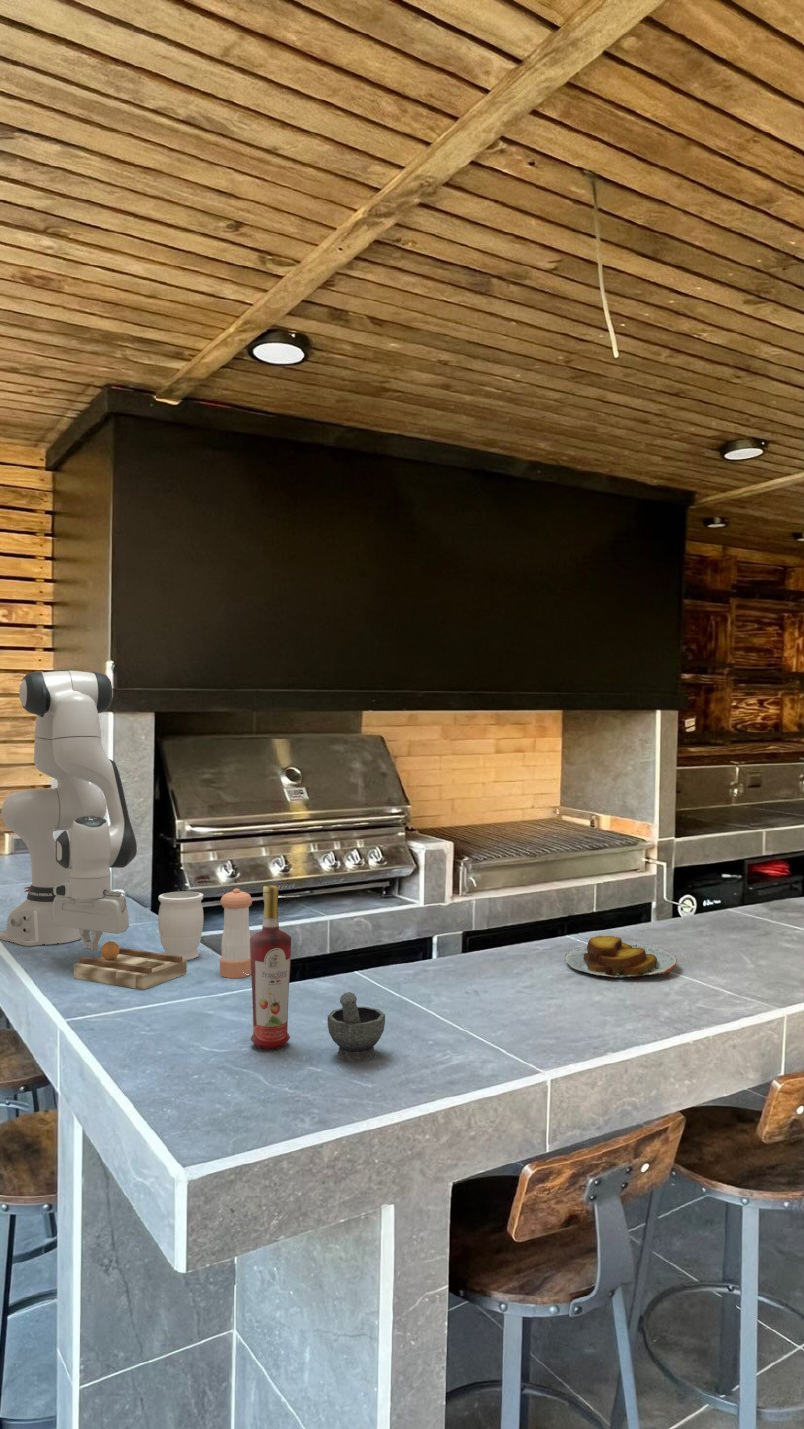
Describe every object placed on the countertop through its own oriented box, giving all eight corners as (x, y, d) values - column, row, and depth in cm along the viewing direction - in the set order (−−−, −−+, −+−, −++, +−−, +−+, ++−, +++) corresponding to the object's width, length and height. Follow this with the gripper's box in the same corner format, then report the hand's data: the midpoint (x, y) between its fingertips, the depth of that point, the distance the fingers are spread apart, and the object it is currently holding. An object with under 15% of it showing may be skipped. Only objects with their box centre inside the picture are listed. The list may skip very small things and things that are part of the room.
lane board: (73, 978, 210) (73, 959, 210) (118, 963, 222) (118, 945, 222) (143, 989, 201) (143, 970, 201) (186, 973, 213) (186, 955, 213)
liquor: (255, 1055, 162) (255, 891, 162) (244, 1041, 169) (245, 884, 169) (296, 1049, 165) (296, 888, 165) (284, 1036, 172) (284, 882, 172)
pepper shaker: (245, 979, 209) (245, 892, 209) (214, 977, 210) (214, 891, 210) (257, 970, 216) (257, 886, 216) (227, 968, 218) (227, 885, 218)
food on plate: (697, 980, 210) (697, 951, 210) (591, 987, 205) (591, 957, 205) (644, 951, 235) (644, 925, 235) (549, 957, 230) (549, 930, 230)
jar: (208, 952, 232) (209, 891, 232) (195, 963, 222) (195, 899, 222) (166, 951, 233) (167, 890, 233) (151, 962, 223) (151, 898, 223)
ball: (97, 960, 213) (97, 942, 213) (109, 956, 217) (109, 938, 217) (110, 962, 211) (110, 944, 211) (123, 958, 215) (123, 940, 215)
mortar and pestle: (338, 1043, 168) (338, 975, 168) (389, 1047, 166) (389, 979, 166) (318, 1066, 158) (318, 994, 157) (373, 1071, 155) (373, 998, 155)
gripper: (135, 889, 215) (135, 950, 215) (68, 882, 224) (68, 941, 224) (115, 894, 209) (115, 957, 209) (47, 887, 218) (47, 947, 218)
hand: (90, 949), depth 216 cm, fingers closed
